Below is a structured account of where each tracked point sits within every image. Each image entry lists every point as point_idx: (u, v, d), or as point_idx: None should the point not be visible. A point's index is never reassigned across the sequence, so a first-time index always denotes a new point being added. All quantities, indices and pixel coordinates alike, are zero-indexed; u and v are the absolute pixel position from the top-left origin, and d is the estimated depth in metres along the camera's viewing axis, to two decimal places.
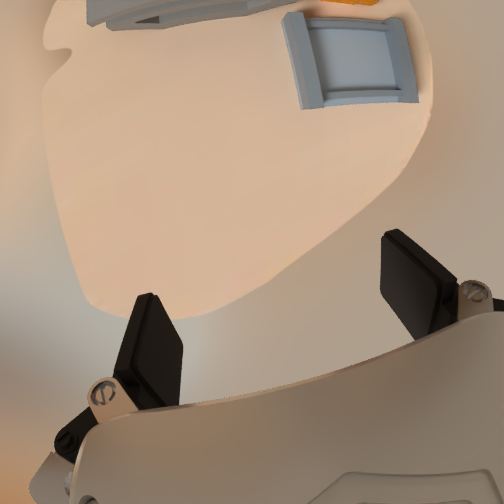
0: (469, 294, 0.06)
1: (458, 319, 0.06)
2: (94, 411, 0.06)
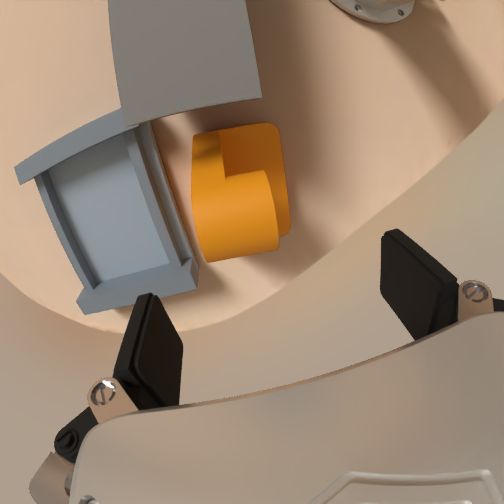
0: (469, 294, 0.06)
1: (458, 319, 0.06)
2: (94, 411, 0.06)
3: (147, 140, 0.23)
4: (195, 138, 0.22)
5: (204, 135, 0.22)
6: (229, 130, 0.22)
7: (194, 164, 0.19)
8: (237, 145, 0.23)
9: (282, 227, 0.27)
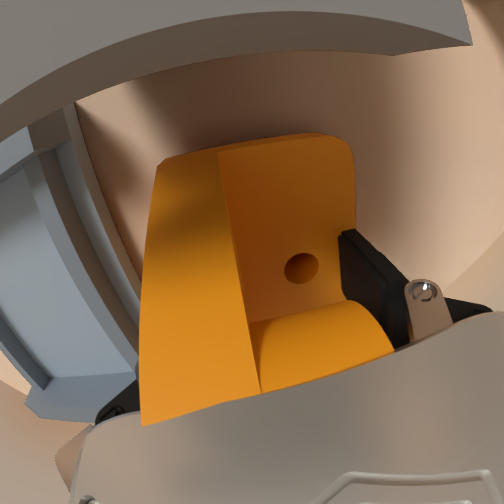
0: (417, 294, 0.07)
1: (412, 323, 0.06)
2: None
3: (73, 173, 0.10)
4: (160, 174, 0.09)
5: (183, 164, 0.09)
6: (243, 151, 0.09)
7: (149, 278, 0.06)
8: (261, 187, 0.10)
9: None
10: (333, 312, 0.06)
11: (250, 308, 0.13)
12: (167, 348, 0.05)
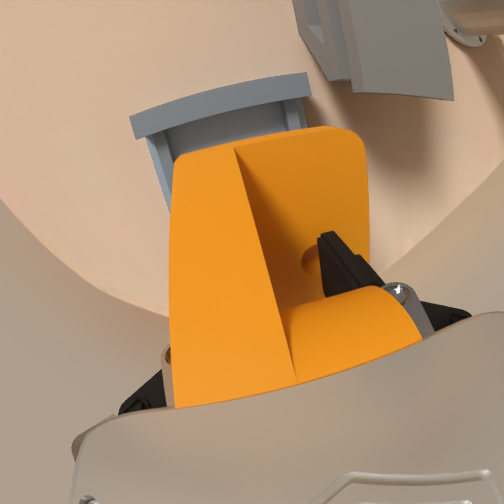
0: None
1: None
2: None
3: (299, 113, 0.22)
4: (179, 169, 0.09)
5: (201, 159, 0.09)
6: (259, 145, 0.10)
7: (177, 269, 0.06)
8: (277, 180, 0.10)
9: None
10: (357, 296, 0.06)
11: None
12: (199, 337, 0.05)
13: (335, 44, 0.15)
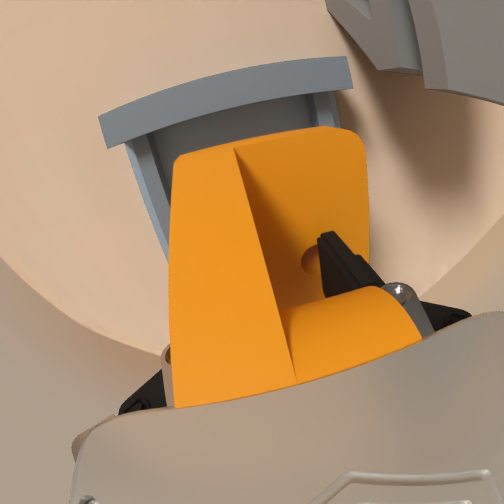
0: None
1: None
2: None
3: (331, 112, 0.16)
4: (178, 170, 0.09)
5: (200, 160, 0.09)
6: (259, 145, 0.10)
7: (176, 270, 0.06)
8: (277, 180, 0.10)
9: None
10: (357, 297, 0.06)
11: None
12: (199, 337, 0.05)
13: (391, 19, 0.08)
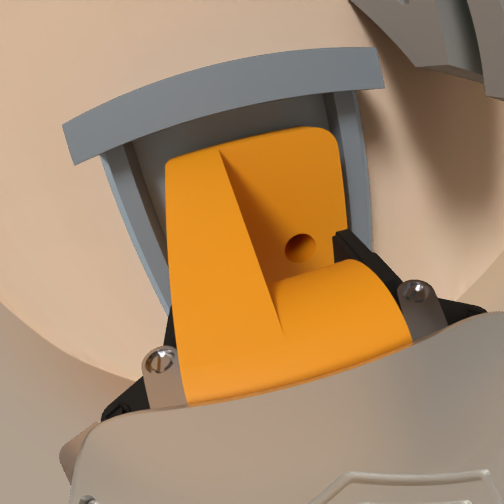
0: (410, 295, 0.07)
1: None
2: (152, 379, 0.07)
3: None
4: (170, 170, 0.10)
5: (189, 161, 0.10)
6: (241, 146, 0.11)
7: (174, 252, 0.07)
8: (259, 177, 0.11)
9: None
10: (333, 267, 0.07)
11: None
12: (198, 305, 0.06)
13: (436, 5, 0.05)
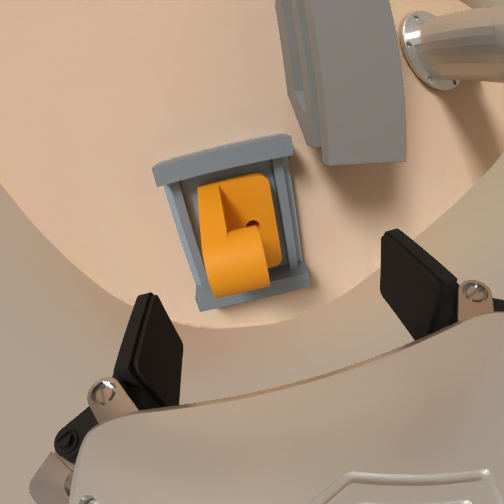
0: (469, 294, 0.06)
1: (458, 319, 0.06)
2: (94, 411, 0.06)
3: (284, 164, 0.30)
4: (199, 192, 0.27)
5: (207, 189, 0.27)
6: (227, 183, 0.28)
7: (201, 220, 0.24)
8: (234, 196, 0.29)
9: (274, 259, 0.32)
10: (248, 226, 0.24)
11: None
12: (207, 233, 0.23)
13: (313, 118, 0.23)
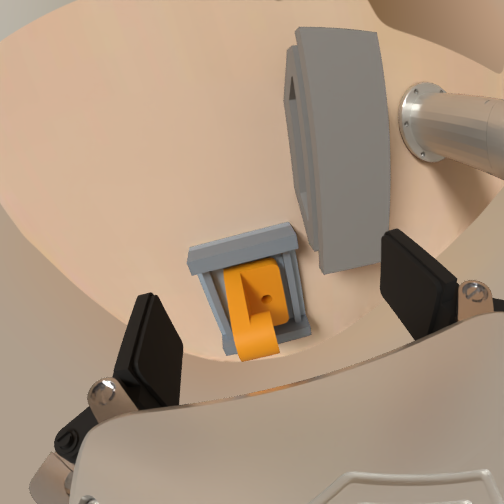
0: (469, 294, 0.06)
1: (458, 319, 0.06)
2: (94, 411, 0.06)
3: None
4: (225, 279, 0.36)
5: (231, 276, 0.36)
6: (246, 271, 0.37)
7: (230, 308, 0.33)
8: (252, 279, 0.37)
9: (283, 319, 0.41)
10: (264, 313, 0.33)
11: (252, 311, 0.40)
12: (235, 320, 0.32)
13: (314, 229, 0.31)
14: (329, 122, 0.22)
